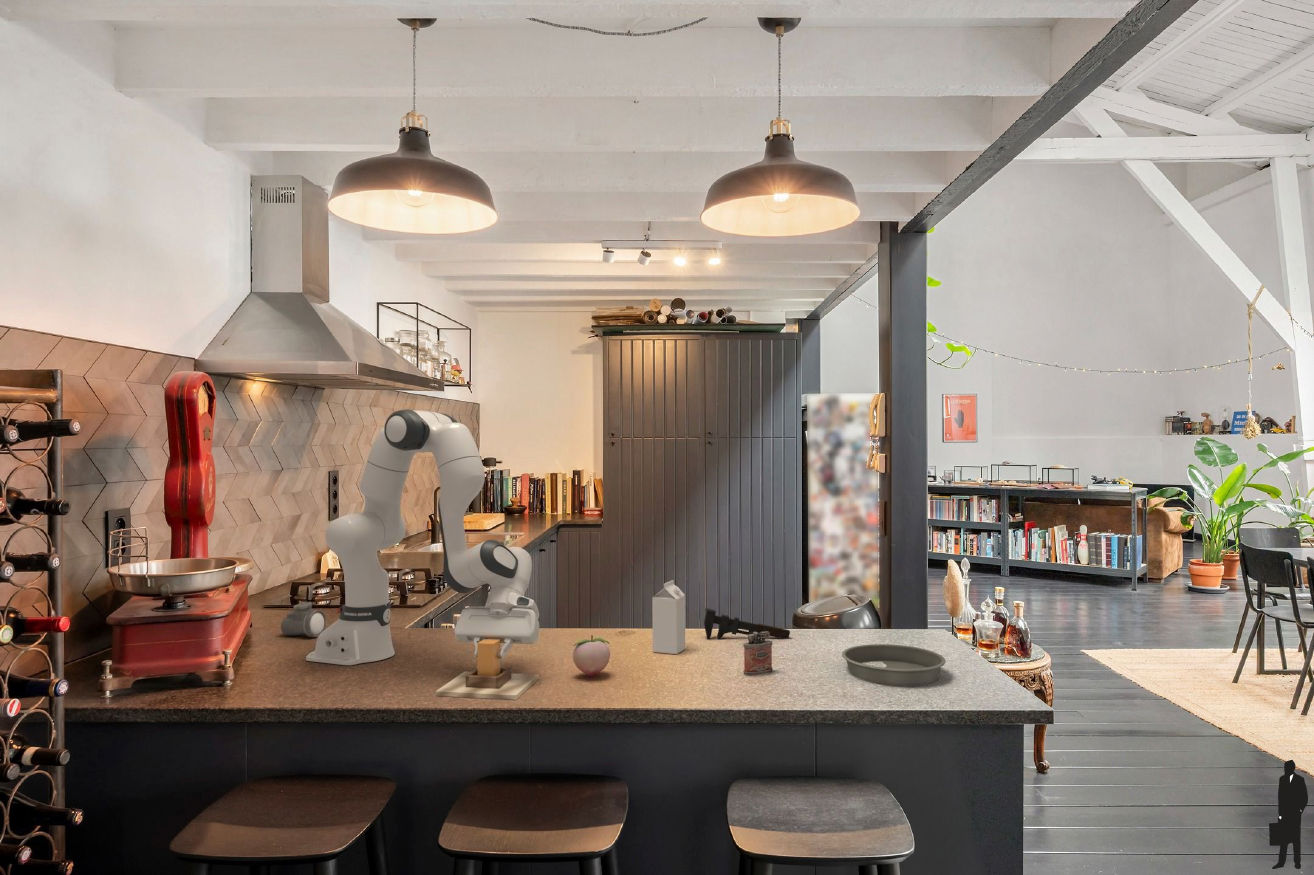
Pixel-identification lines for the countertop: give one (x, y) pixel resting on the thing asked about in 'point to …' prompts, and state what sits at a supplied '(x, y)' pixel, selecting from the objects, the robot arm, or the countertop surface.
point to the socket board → (488, 685)
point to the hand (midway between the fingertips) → (488, 657)
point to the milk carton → (669, 619)
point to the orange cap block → (488, 657)
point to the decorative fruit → (591, 655)
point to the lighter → (758, 654)
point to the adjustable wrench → (738, 626)
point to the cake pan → (894, 664)
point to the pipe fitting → (304, 621)
